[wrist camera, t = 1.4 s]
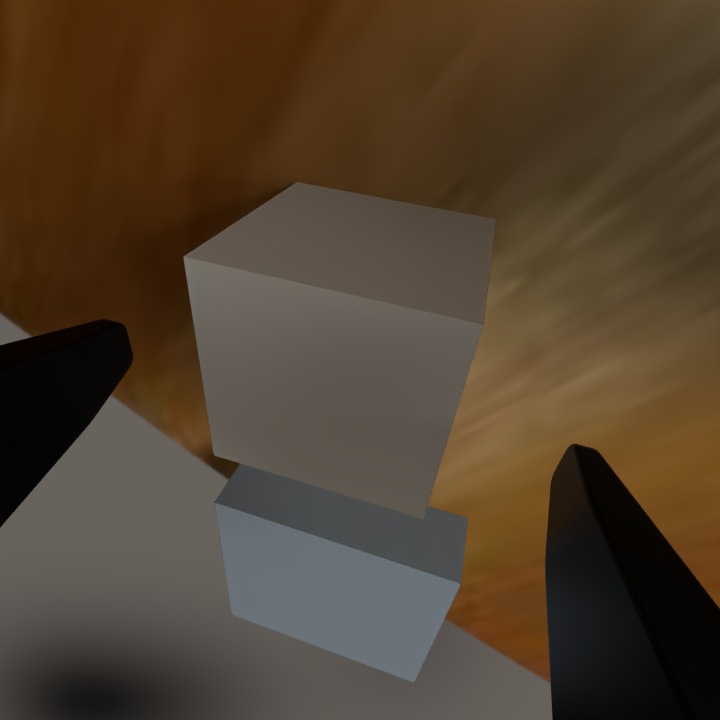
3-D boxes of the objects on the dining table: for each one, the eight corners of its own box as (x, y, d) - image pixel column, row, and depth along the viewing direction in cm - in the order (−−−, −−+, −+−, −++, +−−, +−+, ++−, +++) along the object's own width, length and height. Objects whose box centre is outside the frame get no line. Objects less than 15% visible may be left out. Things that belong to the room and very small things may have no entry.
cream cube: (496, 218, 11) (483, 324, 7) (450, 380, 14) (423, 518, 10) (298, 181, 11) (183, 256, 8) (296, 341, 14) (213, 455, 11)
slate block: (469, 509, 17) (460, 584, 15) (424, 615, 23) (413, 682, 20) (252, 444, 19) (214, 502, 16) (260, 558, 24) (232, 614, 22)
